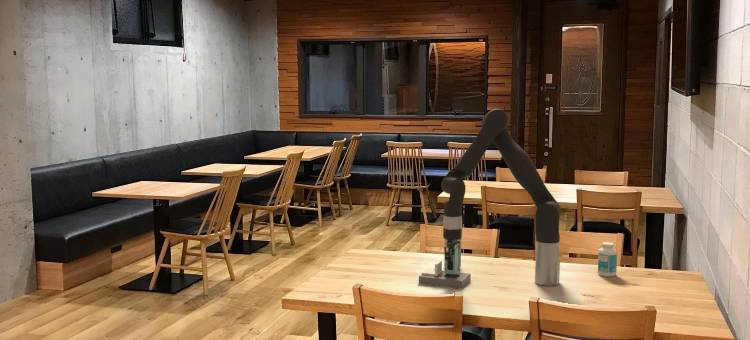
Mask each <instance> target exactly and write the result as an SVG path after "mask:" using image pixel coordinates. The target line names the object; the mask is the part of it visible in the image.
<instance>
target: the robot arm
mask: <svg viewBox="0 0 750 340" xmlns="http://www.w3.org/2000/svg"><path fill="white" fill-rule="evenodd" d="M508 122H509V118H508V115H507V113H506V112H505V111H504V110H502V109H500V108H494V109H492V110H490V111H488V112H487V113H486V114H485V115H484V116H483V118H482V121H481V123H482V126H481V129H480V130H479V133H478V134H477V136H475V139H474V140H473V141H472V142H471V143H470V145H469V146H468V148H467V149H466V150H465V151H464V152H463V154H462V156H461V157H460V159H459V160H458V162H457V164H456V165H455V166H454V167H452V168H451V170H449V172H448V173H447V174H446V175H444V177H443V179H442V181H441V190H442V192H444V193H445V194H447V195H449V199H448V200H446V201H444V203H443V205H444V206H443V218H442V219H443V220H442V221H443V223H442V238H443V239H444V240H445V239H447V243H446V247H445V246H444V248H443V250H444V252H445V260H447V269H448V270H453V256H454V255H455V249H456V248H458V255H459V247H460V241H458V240H459V239H461V240H462V238H463V215H462V212H463V211H462V210H463V207H462V206H463V203H464V198H465V195H466V183H465V181H464V180H463V179H465V178H467V177H470V176H471V175H472V174H473V172H474V171H475V169H476V168H477V166H478V165H479V163H480V162H481V160H482V158H483V157H484V155H485V154H486V152H487V150H488V149H489V147H490V146H491V144H492V143H493V144H494V145H495V146H496V148H497V149H498V151H499V153H500V155H501V157H502V158H503V161H504V163H505V164H506V166H507V168H508V169H509V171H510V173H511V175H512V176H513V178H514V179H515V180H516V182H517V183H518V184H519V186H521V188H523V189H524V191H526V192H527V193H528V195H529V196H530V197H531V200H532V202H533V203H534V205H535V207H536V210H535V215H534V216H535V218H534V219H535V220H534V221H535V222H534V223H535V224H534V225H535V226H534V227H535V231H534V233H535V259H534V260H535V263H534V264H535V266H534V283H535V284H537V285H539V286H546V287H549V286H550V287H551V286H558V285H559V283H560V274H561V272H560V270H561V267H560V266H561V259H560V243H561V242H560V241H561V239H560V238H561V237H560V219H561V216H562V212H563V211H562V208H561V205H560V204H559V202H558V201H557V200H556V199H555V197H554V196H553V195H552V194H551V192H550V191H549V189H548V187H547V186H546V185H545V183H544V180H543V179H542V177H541V176H540V173H539V172H538V169H537V168H536V165H534V163H533V161H532V159H531V158H530V156H529V155H528V153H527V152H526V151H525V150H524V149H523V148H522V147H521V146H520V145H519V144H518V143H517V142H516V141H515V140H514V139H513V138H512V136H511V134H510V133H509V131H508V129H507V125H508ZM444 252H443V253H444ZM451 252H453V253H451ZM449 256H450V257H449Z"/></svg>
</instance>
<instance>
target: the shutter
mask: <svg viewBox="0 0 750 340" xmlns="http://www.w3.org/2000/svg"><path fill="white" fill-rule="evenodd" d="M442 271H443V261H442V260H439V261H437V262H435V264H434V269H433V268H426V269H425V270H423V271H422V272H421V274H422V275H429V276H438V275H439V274H440V273H442Z"/></svg>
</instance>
